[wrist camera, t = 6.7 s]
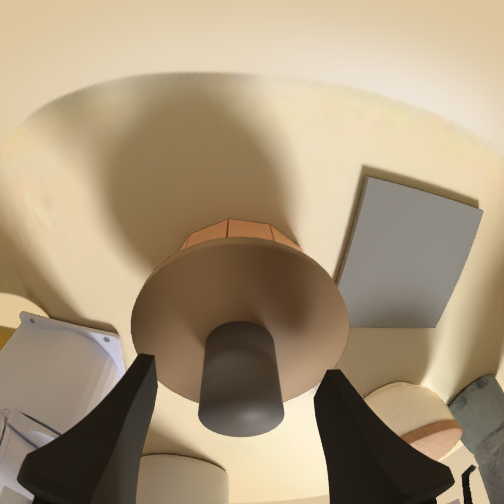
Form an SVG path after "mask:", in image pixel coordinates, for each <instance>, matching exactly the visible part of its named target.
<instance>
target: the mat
mask: <svg viewBox="0 0 504 504" xmlns="http://www.w3.org/2000/svg"><path fill="white" fill-rule="evenodd" d="M482 214H483V210H481V209H479V208H476V207H473V206H470V205H467V204H464V203H461V202H458V201H455V200H452V199H449V198H446V197H443V196H439V195H436V194H433V193H430V192H426V191H423V190H419V189H416V188H412V187H409V186H405V185H401V184H398V183H394V182H390V181H386V180H382V179H378V178H374V177H370V176H366V175H365V180H364V184H363V188H362V192H361V196H360V200H359V204H358V208H357V212H356V216H355V220H354V223H353V227H352V231H351V234H350V238H349V241H348V245H347V248H346V252H345V255H344V259H343V262H342V265H341V268H340V272H339V275H338V278H337V281H336V286H337V288H338V290H339V292H340V294H341V296H342V298H343V300H344V302H345V305H346V308H347V311H348V318H349V327H375V328H435V327H436V325H437V323H438V321H439V319H440V317H441V315H442V313H443V311H444V309H445V307H446V305H447V303H448V301H449V299H450V297H451V295H452V293H453V290H454V288H455V286H456V284H457V282H458V279H459V277H460V275H461V272H462V270H463V267H464V265H465V262H466V260H467V257H468V255H469V252H470V249H471V247H472V244H473V241H474V238H475V236H476V233H477V230H478V227H479V224H480V221H481V218H482Z"/></svg>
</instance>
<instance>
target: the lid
mask: <svg viewBox="0 0 504 504" xmlns="http://www.w3.org/2000/svg"><path fill="white" fill-rule="evenodd" d="M348 334H349V318H348V311H347V308H346V305H345V302H344V300H343V298H342V296H341V294H340V292H339V290H338V288H337V286H336V284H335V283H334V281H333V279H332V278H331V277H330V275H329V274H328V273H327V272H326V270H325V269H323V268H322V267H321V266H320V265H319V264H318V263H317V262H316V261H315V260H313V259H312V258H310V257H309V256H307V255H306V254H304V253H303V252H301V251H299V250H297V249H295V248H293V247H290V246H288V245H285V244H282V243H279V242H276V241H272V240H267V239H262V238H255V237H223V238H218V239H212V240H207V241H204V242H200V243H197V244H194V245H191V246H189V247H187V248H185V249H183V250H180V251H178V252H177V253H175V254H174V255H172V256H171V257H169V258H168V259H166V260H165V261H164V262H163V263H161V264H160V265H159V266H158V267H157V268H156V269H155V270H154V271H153V272H152V274H151V275H150V276H149V277H148V279H147V280H146V282H145V284H144V285H143V287H142V289H141V291H140V293H139V295H138V297H137V299H136V302H135V305H134V307H133V311H132V317H131V335H132V340H133V344H134V347H135V349H136V352H137V354H140V353H144V354H149V355H155V363H156V374H157V380H158V381H159V382H160V383H162V384H163V385H164V386H165V387H167V388H168V389H170V390H171V391H173V392H175V393H177V394H178V395H180V396H182V397H184V398H187V399H189V400H192V401H194V402H197V403H199V410H198V417H199V420H200V421H201V423H202V424H203V425H204V426H205V427H206V428H208V429H209V430H211V431H213V432H216V433H218V434H222V435H226V436H232V437H250V436H256V435H260V434H263V433H266V432H269V431H271V430H273V429H274V428H276V427H277V426H278V425H279V424H280V423H281V422H282V420H283V418H284V408H283V402H286V401H288V400H290V399H293V398H295V397H297V396H299V395H301V394H303V393H305V392H307V391H308V390H310V389H311V388H313V387H314V386H316V385H317V384H318V383H319V382H321V381H322V379H323V377H324V375H325V373H326V371H327V369H333V368H334V367H335V365H336V364H337V363H338V361H339V359H340V357H341V356H342V354H343V352H344V349H345V346H346V344H347V339H348Z"/></svg>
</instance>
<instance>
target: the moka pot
mask: <svg viewBox="0 0 504 504" xmlns="http://www.w3.org/2000/svg"><path fill="white" fill-rule="evenodd" d="M449 409H450V411H451V413H452V414H453V416H454V418H455V420H456V421H457V422H458V423H459V425H460V426H461V428H462V435H461V438H460V440H461V441H462V443H463V444H464V445H465V446H466V447H467V449H468V450H469V451H470V452H471V453H472V454H474V457H475V459H476V461H477V463H478V465H479V468H478V469H479V471H480V474H481V477H482V480H483V483H484V486H485V489H486V492H487V495H488V498H489V501H490V504H504V392H503V390H502V389H501V387H500V385H499V383H498V382H497V380H496V379H495V377H494V376H493V375H486V376H483V377H482V378H480V379H478V380H476V381H475V382H473V383H472V384H471V385H469V386H468V387H467V388H466V389H465V390H464V391H463V392H462V393H460V394H459V395H458V396H457V398H456V399H455V400H454V401H453V402H452V404H451V405H450V406H449ZM475 468H476V467H475V466H473V465H471V466H470V467H469V468H468V469H467V470H466V471H465V472H464V473H463V474H462V487H463V496H464V504H473V503H472V498H471V491H470V487H469V475H470V473H471V472H473V471H474V470H475Z"/></svg>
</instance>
